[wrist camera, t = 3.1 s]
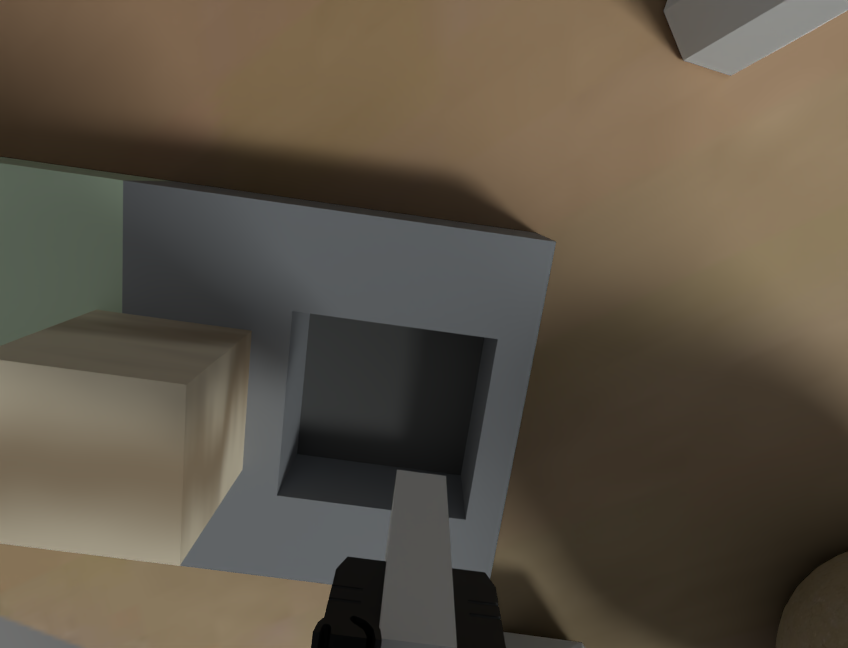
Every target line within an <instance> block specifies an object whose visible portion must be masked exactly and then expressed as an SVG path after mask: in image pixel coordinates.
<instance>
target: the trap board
mask: <svg viewBox="0 0 848 648" xmlns="http://www.w3.org/2000/svg"><path fill="white" fill-rule="evenodd" d="M555 245H556V242H555V241H553V240H551V239H549V238H546V237H544V236H542V235H540V234H538V233H534V232H527V231H520V230H513V229H506V228H499V227H492V226H485V225H478V224H471V223H464V222H457V221H450V220H443V219H436V218H429V217H422V216H415V215H407V214H400V213H393V212H386V211H379V210H372V209H365V208H358V207H351V206H344V205H337V204H330V203H323V202H316V201H309V200H302V199H295V198H288V197H281V196H274V195H267V194H260V193H253V192H246V191H239V190H231V189H224V188H217V187H210V186H203V185H196V184H189V183H182V182H175V181H168V180H161V179H154V178H147V177H140V176H133V175H126V174H119V173H112V172H105V171H98V170H91V169H84V168H77V167H70V166H62V165H55V164H48V163H41V162H34V161H27V160H20V159H13V158H6V157H0V346H1V345H4V344H6V343H9V342H12V341H14V340H17V339H19V338H22V337H25V336H27V335H30V334H33V333H35V332H38V331H41V330H43V329H46V328H49V327H51V326H54V325H57V324H59V323H62V322H65V321H67V320H70V319H73V318H75V317H78V316H80V315H83V314H86V313H88V312H91V311H94V310H103V311H110V312H117V313H125V314H132V315H140V316H147V317H154V318H162V319H169V320H176V321H184V322H191V323H199V324H206V325H213V326H221V327H228V328H235V329H243V330H250V331H252V333H251V348H250V364H249V379H248V394H247V409H246V424H245V439H244V455H243V470H242V471H241V473H240V474H239V476H238V477H237V479H236V480H235V482H234V483H233V485H232V486H231V488H230V490H229V491H228V493H227V494H226V496H225V497H224V499H223V500H222V502H221V503H220V505H219V506H218V508H217V509H216V511H215V512H214V514H213V516H212V517H211V519H210V520H209V522H208V523H207V525H206V526H205V528H204V529H203V531H202V532H201V534H200V535H199V537H198V539H197V540H196V542H195V543H194V545H193V546H192V548H191V549H190V551H189V552H188V554H187V555H186V557H185V558H184V560H183V562H182V563H181V565H180V566H187V567H195V568H203V569H211V570H219V571H227V572H235V573H243V574H251V575H259V576H267V577H275V578H283V579H291V580H299V581H307V582H316V583H324V584H333V580H334V575H335V571H336V568H337V567H338V566H339V565H340V564H341V563H342V562H343V561H344V560H345V559H346V558H347V556H348V557H356V558H364V559H372V560H380V561H385V554H386V546H387V539H388V531H389V524H390V517H391V510H392V503H393V496H394V489H395V482H396V475H397V470H404V471H412V472H419V473H427V474H435V475H442V476H446V484H447V500H448V515H449V531H450V546H451V562H452V568H455V569H463V570H471V571H479V572H485V573H486V574H487V576H488V577H489V579H490V576H491V571H492V566H493V561H494V556H495V551H496V546H497V541H498V536H499V531H500V525H501V520H502V515H503V510H504V505H505V500H506V495H507V490H508V485H509V479H510V474H511V469H512V464H513V459H514V454H515V449H516V444H517V439H518V434H519V428H520V423H521V418H522V413H523V408H524V403H525V398H526V393H527V388H528V383H529V377H530V372H531V367H532V362H533V357H534V352H535V347H536V342H537V337H538V331H539V326H540V321H541V316H542V311H543V306H544V301H545V296H546V291H547V286H548V280H549V275H550V270H551V265H552V260H553V255H554V250H555Z"/></svg>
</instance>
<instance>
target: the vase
mask: <svg viewBox="0 0 848 648" xmlns="http://www.w3.org/2000/svg"><path fill="white" fill-rule="evenodd" d="M776 648H848V552H845V553H843V554H840V555H838V556H836V557H834V558H832V559H830V560H829V561H827V562H825V563H824V564H822V565H820V566H818V567H817V568H816V569H815V570H814V571H813V572H812V573H811V574H809V575H808V576H807V577H806V578H805V579H804V580H803V581H802V582H801V583H800V584H799V585H798V586H797V587H796V589H795V591H794V593H793V594H792V596H791V598H790V599H789V601H788V603H787V604H786V606H785V608H784V610H783V613H782V617H781V620H780V623H779V628H778V632H777V638H776Z"/></svg>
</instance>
